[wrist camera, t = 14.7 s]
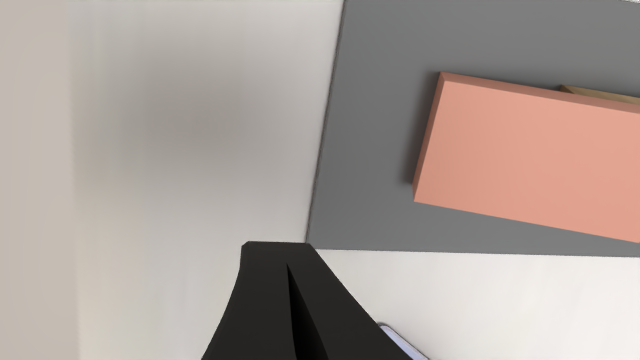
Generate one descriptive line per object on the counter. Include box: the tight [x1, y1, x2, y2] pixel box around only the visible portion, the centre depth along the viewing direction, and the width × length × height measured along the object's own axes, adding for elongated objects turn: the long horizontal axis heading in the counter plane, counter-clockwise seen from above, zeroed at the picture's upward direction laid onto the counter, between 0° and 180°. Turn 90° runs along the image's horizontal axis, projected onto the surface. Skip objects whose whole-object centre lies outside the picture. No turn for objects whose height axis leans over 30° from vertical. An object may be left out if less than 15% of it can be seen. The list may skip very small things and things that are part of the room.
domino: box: [412, 71, 640, 243], centre depth 19 cm, size 2×5×9 cm
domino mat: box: [306, 0, 640, 257], centre depth 22 cm, size 28×12×1 cm, turn 81°
